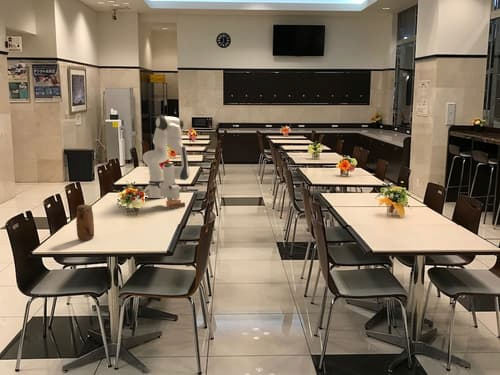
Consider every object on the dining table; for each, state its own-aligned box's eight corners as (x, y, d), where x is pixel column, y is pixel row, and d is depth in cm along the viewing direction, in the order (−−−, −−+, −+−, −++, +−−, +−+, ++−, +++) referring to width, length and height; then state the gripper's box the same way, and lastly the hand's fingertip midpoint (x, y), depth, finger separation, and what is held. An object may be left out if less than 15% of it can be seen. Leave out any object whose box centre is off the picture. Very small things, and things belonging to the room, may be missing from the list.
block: (83, 236, 308) (81, 203, 304) (95, 236, 307) (93, 203, 304) (75, 241, 297) (73, 207, 294) (88, 242, 297) (86, 207, 293)
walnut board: (169, 209, 382) (169, 205, 381) (183, 206, 391) (183, 202, 390) (171, 209, 380) (170, 205, 380) (185, 206, 389) (184, 202, 389)
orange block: (166, 207, 387) (166, 200, 386) (175, 205, 394) (175, 199, 393) (172, 208, 384) (171, 201, 383) (180, 206, 390) (180, 200, 390)
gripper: (157, 184, 394) (158, 202, 396) (173, 187, 380) (174, 205, 382) (164, 183, 398) (165, 200, 401) (180, 186, 384) (181, 204, 387)
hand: (169, 203), depth 391 cm, fingers closed
